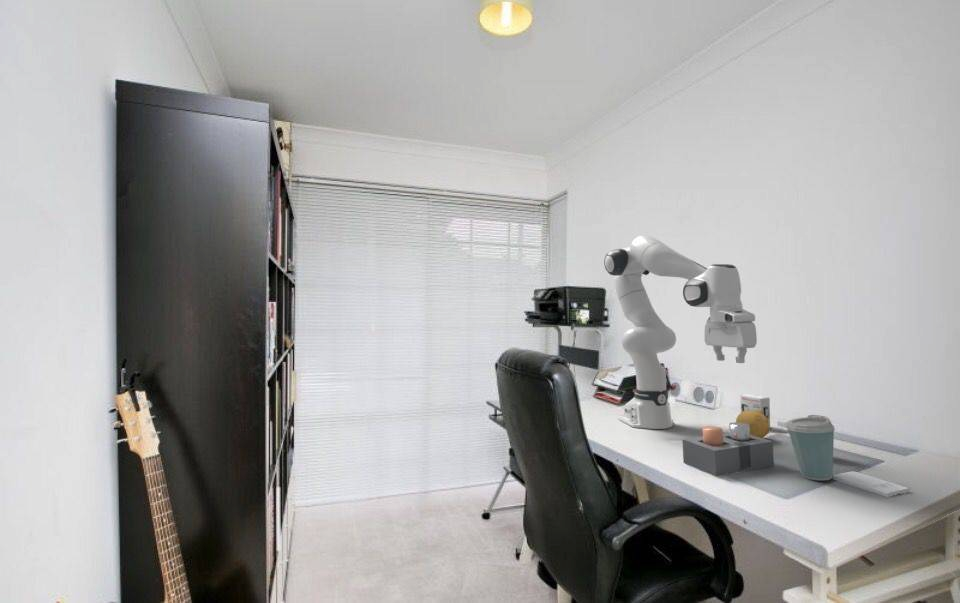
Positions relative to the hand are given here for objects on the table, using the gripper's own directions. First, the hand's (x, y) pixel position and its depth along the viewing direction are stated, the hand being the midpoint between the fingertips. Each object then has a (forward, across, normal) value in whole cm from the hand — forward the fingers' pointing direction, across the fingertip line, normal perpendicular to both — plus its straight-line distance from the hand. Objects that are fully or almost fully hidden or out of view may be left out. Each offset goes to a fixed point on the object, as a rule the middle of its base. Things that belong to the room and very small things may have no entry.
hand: (730, 361), depth 136 cm
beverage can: (+30, +2, +24) cm, 39 cm away
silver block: (+25, +2, 0) cm, 25 cm away
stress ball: (+29, -18, +18) cm, 38 cm away
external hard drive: (+31, +23, +19) cm, 43 cm away
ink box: (+29, -32, +29) cm, 52 cm away
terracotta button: (+25, +4, -10) cm, 28 cm away
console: (+29, +3, -5) cm, 30 cm away
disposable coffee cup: (+30, +16, +11) cm, 36 cm away
